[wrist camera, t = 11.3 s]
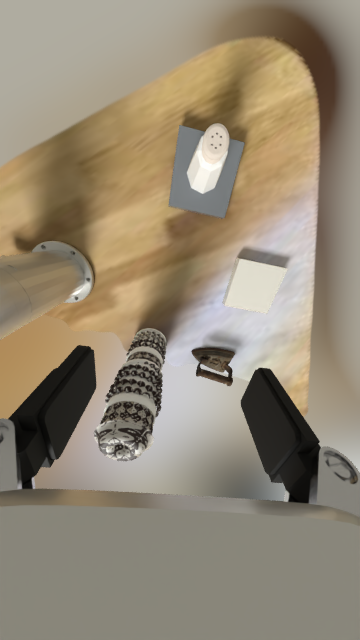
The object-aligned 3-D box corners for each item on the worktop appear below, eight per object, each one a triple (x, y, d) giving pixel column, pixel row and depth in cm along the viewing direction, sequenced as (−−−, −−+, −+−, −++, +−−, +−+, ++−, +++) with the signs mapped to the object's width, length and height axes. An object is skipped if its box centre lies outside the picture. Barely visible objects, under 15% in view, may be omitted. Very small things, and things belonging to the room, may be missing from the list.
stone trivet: (222, 302, 40) (224, 305, 38) (236, 257, 35) (239, 258, 34) (263, 310, 41) (267, 313, 39) (282, 267, 36) (287, 268, 34)
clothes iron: (225, 370, 50) (223, 399, 41) (189, 354, 50) (180, 379, 42) (237, 353, 46) (238, 381, 38) (198, 336, 47) (190, 359, 38)
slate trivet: (169, 206, 31) (168, 205, 30) (179, 132, 27) (179, 125, 25) (222, 218, 32) (224, 217, 30) (240, 148, 28) (244, 142, 26)
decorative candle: (172, 332, 43) (165, 437, 21) (162, 360, 47) (146, 473, 25) (137, 321, 42) (88, 422, 20) (129, 351, 46) (81, 462, 24)
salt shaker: (187, 150, 26) (191, 101, 17) (222, 151, 26) (247, 103, 17) (186, 193, 29) (189, 173, 19) (218, 194, 29) (238, 174, 19)
